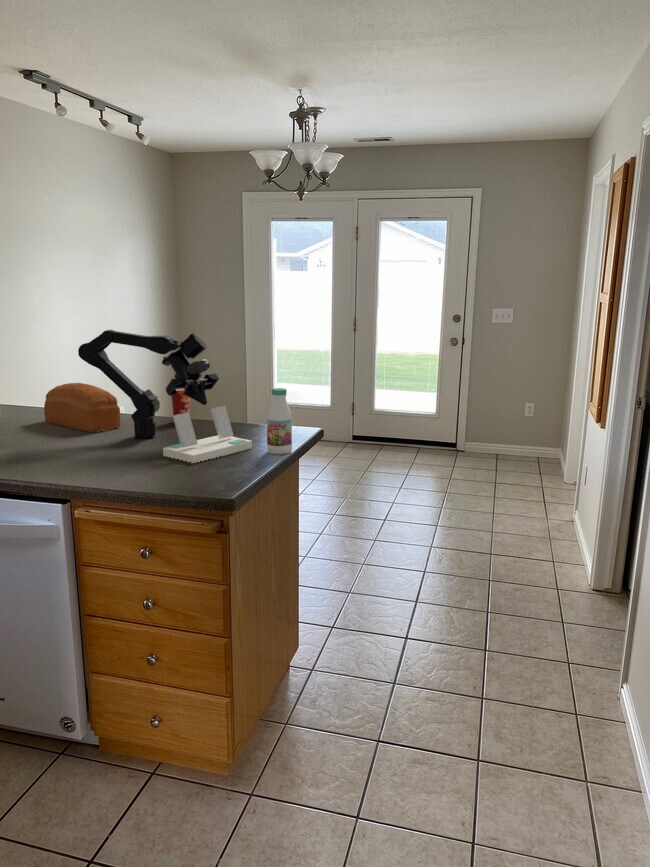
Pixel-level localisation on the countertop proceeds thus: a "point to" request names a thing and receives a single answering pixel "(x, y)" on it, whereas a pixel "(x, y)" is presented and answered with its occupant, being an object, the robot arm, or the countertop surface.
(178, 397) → the paper cup
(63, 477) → the countertop surface
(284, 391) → the milk bottle
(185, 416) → the left lever
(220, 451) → the switch panel
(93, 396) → the bread
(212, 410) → the right lever
